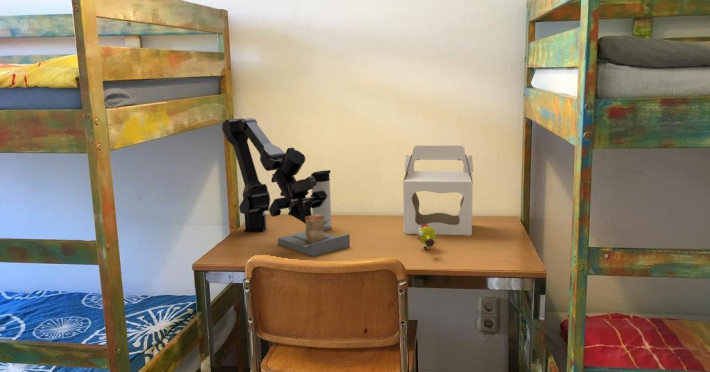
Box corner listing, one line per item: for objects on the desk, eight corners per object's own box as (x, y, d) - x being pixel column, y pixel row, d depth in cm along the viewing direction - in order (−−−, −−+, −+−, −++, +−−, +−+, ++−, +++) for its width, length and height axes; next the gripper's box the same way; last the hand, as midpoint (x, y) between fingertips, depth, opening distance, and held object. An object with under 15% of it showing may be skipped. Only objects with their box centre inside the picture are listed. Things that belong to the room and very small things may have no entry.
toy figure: (415, 240, 185) (415, 219, 184) (432, 240, 185) (432, 219, 184) (419, 258, 168) (419, 235, 166) (439, 257, 167) (439, 234, 166)
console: (278, 244, 185) (277, 230, 184) (313, 235, 194) (313, 222, 193) (313, 256, 171) (312, 241, 171) (349, 246, 180) (349, 232, 180)
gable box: (472, 225, 202) (473, 143, 197) (472, 235, 189) (473, 148, 184) (407, 223, 206) (406, 143, 201) (402, 233, 193) (402, 148, 188)
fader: (304, 242, 178) (303, 216, 176) (316, 239, 181) (315, 213, 179) (314, 245, 174) (313, 219, 172) (326, 242, 177) (325, 216, 175)
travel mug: (329, 231, 199) (327, 172, 195) (310, 230, 200) (308, 171, 196) (334, 226, 205) (332, 169, 201) (315, 225, 206) (313, 168, 202)
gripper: (272, 172, 173) (296, 215, 166) (322, 164, 185) (346, 204, 178) (259, 195, 180) (281, 237, 174) (308, 186, 192) (331, 225, 186)
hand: (311, 225), depth 178 cm, fingers closed, pressing on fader
